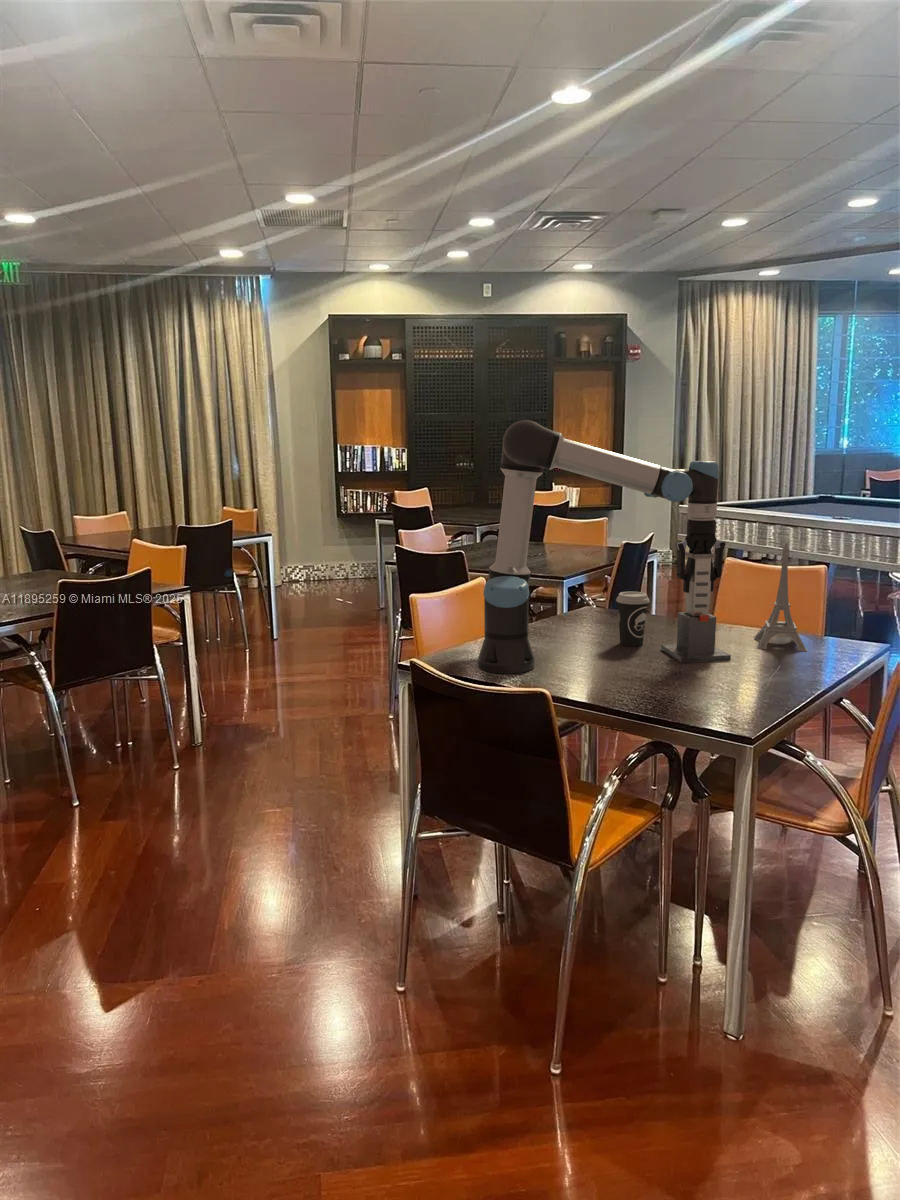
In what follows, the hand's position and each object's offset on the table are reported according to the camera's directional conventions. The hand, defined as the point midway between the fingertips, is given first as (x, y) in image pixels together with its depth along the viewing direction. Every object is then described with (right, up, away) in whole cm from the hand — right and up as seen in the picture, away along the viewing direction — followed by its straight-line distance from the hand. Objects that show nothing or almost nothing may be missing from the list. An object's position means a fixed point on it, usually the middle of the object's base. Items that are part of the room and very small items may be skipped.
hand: (697, 603), depth 225 cm
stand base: (0, -14, +3) cm, 15 cm away
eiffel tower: (+28, -12, +14) cm, 33 cm away
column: (0, -13, +3) cm, 13 cm away
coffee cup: (-15, -12, +16) cm, 25 cm away
